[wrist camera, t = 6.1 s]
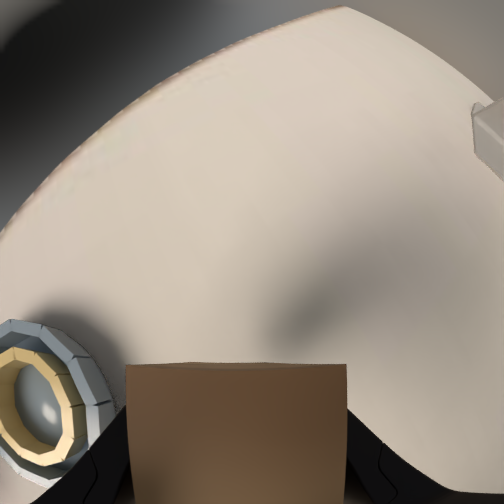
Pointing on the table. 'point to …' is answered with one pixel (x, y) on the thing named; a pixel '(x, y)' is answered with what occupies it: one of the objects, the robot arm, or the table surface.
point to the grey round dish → (48, 401)
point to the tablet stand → (489, 135)
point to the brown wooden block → (237, 433)
